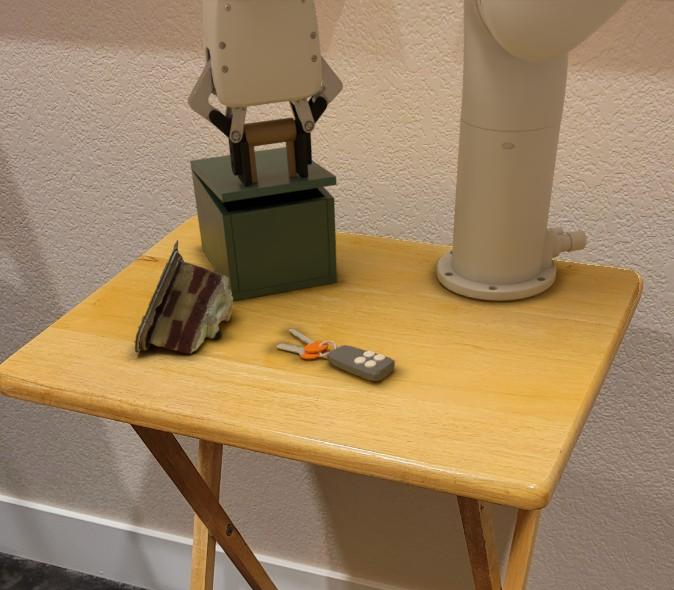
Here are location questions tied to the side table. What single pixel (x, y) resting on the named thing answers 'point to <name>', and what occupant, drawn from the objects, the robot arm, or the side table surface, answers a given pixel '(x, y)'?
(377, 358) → the key chain
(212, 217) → the box
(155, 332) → the chocolate cake
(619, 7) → the robot arm
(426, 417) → the side table surface
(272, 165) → the bread lid
